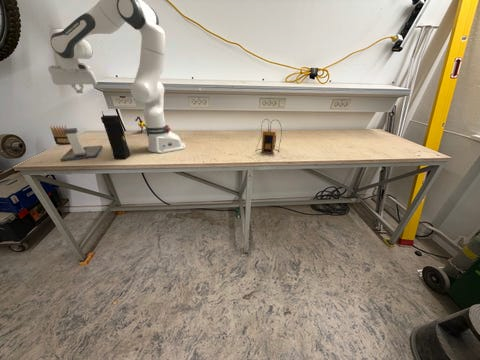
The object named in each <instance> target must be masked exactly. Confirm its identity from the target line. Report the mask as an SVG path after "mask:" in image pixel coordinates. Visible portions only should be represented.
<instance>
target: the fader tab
mask: <svg viewBox="0 0 480 360" xmlns="http://www.w3.org/2000/svg"><path fill="white" fill-rule="evenodd" d="M63 131H64V134H66V135H67V137H68V140H69V142H70V144H71V145H70V146H71V148H72V149H73V151H74V154H73V156H78V155H85V154H86V151H84V149H83V147H84V146H83V145H82V142H81V140H80V137H79V135H78V132H79V131H78V128H77V127H72V128H71V127H70V128H67V129H65V128H64V130H63Z"/></svg>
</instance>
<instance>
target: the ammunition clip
mask: <svg viewBox="0 0 480 360" xmlns="http://www.w3.org/2000/svg"><path fill="white" fill-rule="evenodd" d="M49 127H50V128H49V129H50V131H51V134H52V136H53V140H54V142H55V144H56V145H59V146H61V144H62V145H68V146H69V145H70V146H71V144H70V142H69V140H68V137H67V135H66V134H64V131H63V130H64V129H68V127H67V126H66V125H64V126H63V125H61V126H60V125H59V126H58V125H56V126H55V125H53V126H52V125H49Z"/></svg>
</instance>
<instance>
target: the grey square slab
mask: <svg viewBox="0 0 480 360" xmlns="http://www.w3.org/2000/svg"><path fill="white" fill-rule="evenodd" d="M103 147H104V146H103V145H102V144H101V145H92V146H83V149H84V151H86V154H85V155H78V156H73V154H74V151H73V149H72V147H71V148H70V149H69V150H68V151H67V152H66V153H65V154H64V155H63V156H61V158H60V159H59V160H60V162H61V163H62V162H71V161H79V160H80V161H81V160H88V159H96V158H97V157H98V155H100V153H101V151H102V150H101V149H104V148H103Z"/></svg>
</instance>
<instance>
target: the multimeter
mask: <svg viewBox="0 0 480 360" xmlns="http://www.w3.org/2000/svg"><path fill="white" fill-rule="evenodd" d="M265 120H267V121H268V122H270V123H272V122H273V121H274V119H272V121H270V120H269V119H268V118H265V119H264V121H265ZM264 121H262V122H261V125H260V138H259V140H258V143H257V145H256V148H255V152H257V151H259V150H261V152H262V153H268V154H274V153H275V151H277V152H278V153H279V152H280V149H277V148H275V147H276V145H277V144H276V142H277V135H276V133H277V132H276V130H272V124H269V125H268V128H267V130H266V129H265V130H263V131H262V129H263V128H262V125H263V123H264ZM276 121H277V122H278V124H279V125H280V127H282V125H281V122H280V121H279V119H276ZM280 134H281V135H280V136H282V134H283V133H282V129H280ZM261 139H262V140H261ZM281 140H282V138H280V141H279V143H281ZM260 141H262V142H261V148H259V149H258V146H259V144H260ZM280 145H281V144H279V145H278V148H280ZM274 150H275V151H274Z"/></svg>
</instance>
